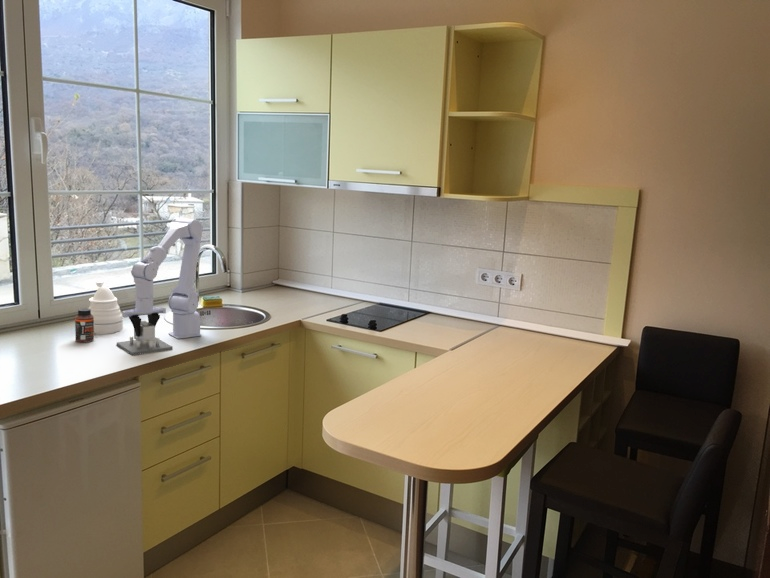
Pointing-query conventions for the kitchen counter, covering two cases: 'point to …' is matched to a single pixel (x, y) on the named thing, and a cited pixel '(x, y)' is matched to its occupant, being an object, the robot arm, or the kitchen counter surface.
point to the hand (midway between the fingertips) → (144, 335)
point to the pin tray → (143, 346)
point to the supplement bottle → (84, 326)
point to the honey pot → (105, 311)
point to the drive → (146, 333)
